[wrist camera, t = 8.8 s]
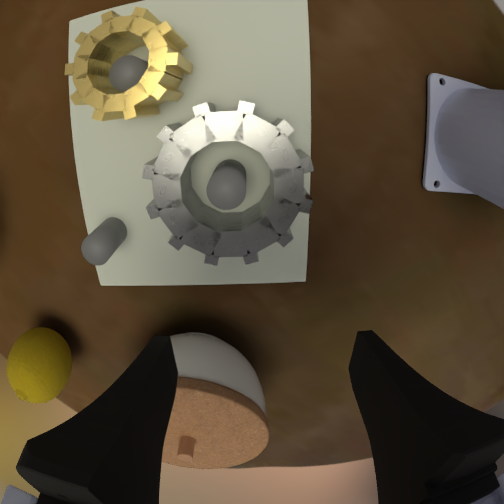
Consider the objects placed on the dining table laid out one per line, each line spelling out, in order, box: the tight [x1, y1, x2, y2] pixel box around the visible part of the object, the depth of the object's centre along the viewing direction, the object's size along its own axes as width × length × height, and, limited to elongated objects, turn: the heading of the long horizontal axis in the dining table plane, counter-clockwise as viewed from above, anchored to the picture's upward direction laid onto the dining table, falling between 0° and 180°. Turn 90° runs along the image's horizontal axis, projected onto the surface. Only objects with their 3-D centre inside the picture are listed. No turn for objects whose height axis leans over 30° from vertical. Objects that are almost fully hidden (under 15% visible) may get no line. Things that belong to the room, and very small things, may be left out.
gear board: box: [69, 0, 311, 286], centre depth 15 cm, size 14×18×5 cm
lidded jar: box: [162, 332, 269, 469], centre depth 21 cm, size 11×11×9 cm
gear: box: [142, 100, 314, 266], centre depth 16 cm, size 8×8×3 cm
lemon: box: [6, 327, 72, 403], centre depth 20 cm, size 6×6×8 cm
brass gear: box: [65, 7, 193, 121], centre depth 13 cm, size 6×6×4 cm
